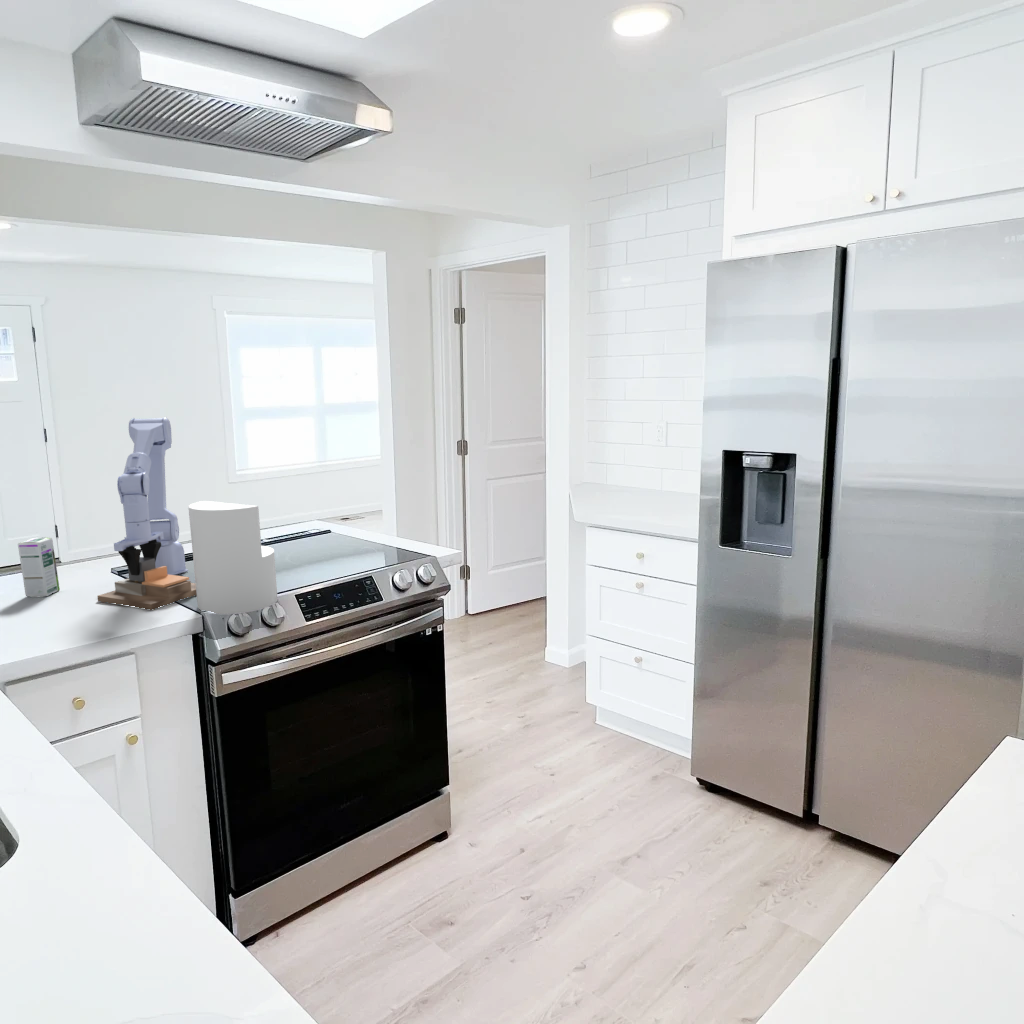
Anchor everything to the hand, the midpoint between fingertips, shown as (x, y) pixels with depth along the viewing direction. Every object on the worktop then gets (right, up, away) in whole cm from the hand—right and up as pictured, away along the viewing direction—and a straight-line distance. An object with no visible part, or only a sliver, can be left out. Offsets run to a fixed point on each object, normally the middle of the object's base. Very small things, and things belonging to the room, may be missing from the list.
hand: (142, 572), depth 201 cm
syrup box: (-28, -6, +3) cm, 29 cm away
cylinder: (+27, -7, -7) cm, 29 cm away
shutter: (+7, -2, -3) cm, 8 cm away
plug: (-1, -2, +1) cm, 3 cm away
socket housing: (+3, -6, 0) cm, 7 cm away
